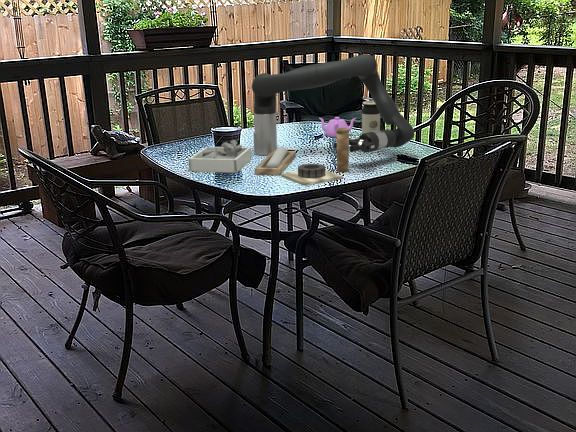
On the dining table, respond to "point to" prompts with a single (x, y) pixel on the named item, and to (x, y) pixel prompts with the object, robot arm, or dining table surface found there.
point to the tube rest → (279, 170)
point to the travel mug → (370, 117)
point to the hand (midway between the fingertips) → (342, 147)
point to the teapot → (335, 126)
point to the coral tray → (219, 161)
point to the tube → (277, 157)
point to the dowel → (342, 149)
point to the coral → (217, 154)
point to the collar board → (313, 180)
